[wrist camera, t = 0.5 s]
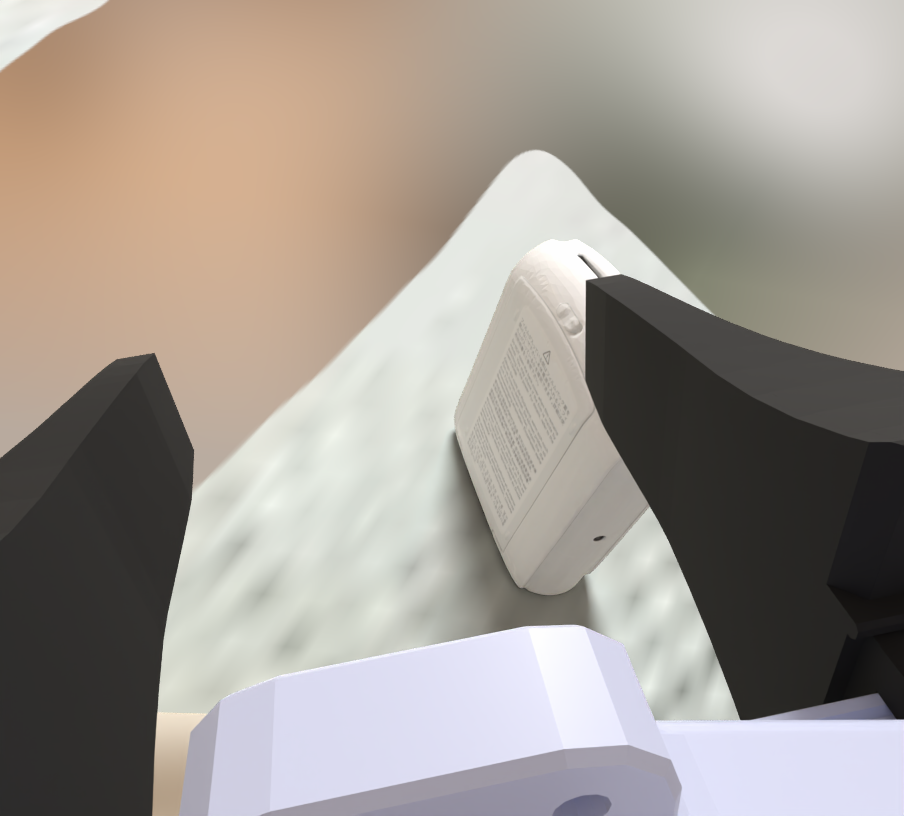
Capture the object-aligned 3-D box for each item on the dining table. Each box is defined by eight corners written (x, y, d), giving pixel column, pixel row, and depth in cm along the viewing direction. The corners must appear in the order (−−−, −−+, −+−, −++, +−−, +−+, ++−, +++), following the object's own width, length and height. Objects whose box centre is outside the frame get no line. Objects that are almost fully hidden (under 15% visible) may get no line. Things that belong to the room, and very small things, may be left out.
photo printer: (601, 589, 32) (754, 416, 23) (514, 609, 31) (640, 432, 21) (517, 407, 38) (612, 209, 29) (440, 415, 36) (514, 209, 27)
